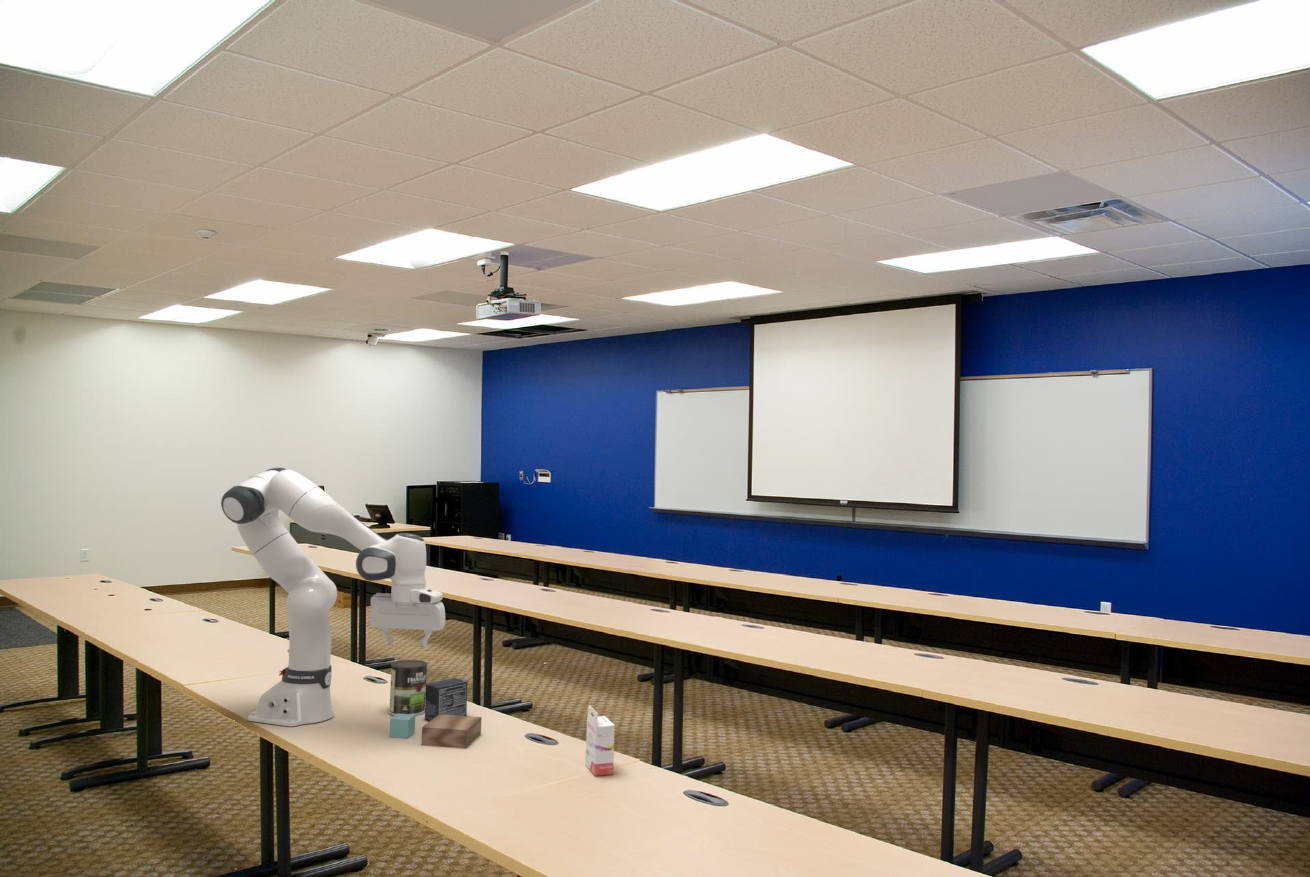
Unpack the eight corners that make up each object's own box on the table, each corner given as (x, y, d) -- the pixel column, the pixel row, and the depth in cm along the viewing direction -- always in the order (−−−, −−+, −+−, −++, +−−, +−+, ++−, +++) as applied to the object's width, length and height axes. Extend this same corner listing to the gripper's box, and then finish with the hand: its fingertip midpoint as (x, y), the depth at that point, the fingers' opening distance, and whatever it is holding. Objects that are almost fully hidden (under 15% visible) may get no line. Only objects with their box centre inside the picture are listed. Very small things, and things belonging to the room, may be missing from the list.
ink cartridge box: (614, 774, 204) (616, 712, 204) (594, 776, 202) (596, 714, 203) (603, 763, 212) (605, 703, 212) (584, 764, 210) (586, 704, 211)
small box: (453, 712, 251) (455, 676, 251) (467, 717, 247) (469, 680, 247) (423, 720, 242) (424, 682, 243) (437, 725, 238) (438, 687, 239)
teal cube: (389, 737, 226) (390, 718, 226) (396, 732, 231) (397, 713, 231) (407, 739, 225) (408, 720, 226) (414, 733, 230) (415, 714, 231)
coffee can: (432, 711, 251) (434, 663, 251) (403, 719, 243) (405, 669, 243) (410, 705, 257) (412, 658, 258) (381, 712, 249) (383, 663, 249)
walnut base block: (421, 746, 221) (422, 727, 221) (438, 732, 232) (439, 714, 233) (466, 749, 219) (466, 730, 219) (480, 735, 231) (481, 717, 231)
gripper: (366, 594, 228) (364, 646, 227) (440, 597, 225) (438, 649, 225) (376, 590, 234) (374, 641, 233) (448, 593, 232) (446, 645, 231)
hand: (406, 645), depth 229 cm, fingers open, 8 cm apart
